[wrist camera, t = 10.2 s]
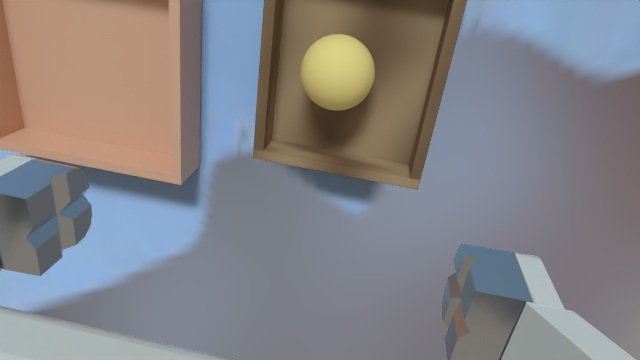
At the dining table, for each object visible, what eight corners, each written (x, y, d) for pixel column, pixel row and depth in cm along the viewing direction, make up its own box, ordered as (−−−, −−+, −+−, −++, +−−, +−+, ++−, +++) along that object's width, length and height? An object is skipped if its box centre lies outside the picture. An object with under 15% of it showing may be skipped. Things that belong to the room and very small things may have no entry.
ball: (318, 92, 28) (282, 107, 25) (327, 24, 26) (290, 30, 23) (378, 110, 26) (349, 127, 23) (392, 39, 24) (363, 47, 21)
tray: (264, 142, 30) (252, 158, 28) (281, -63, 24) (268, -66, 22) (416, 171, 29) (417, 189, 27) (468, -36, 24) (476, -36, 21)
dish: (23, 131, 33) (-11, 147, 30) (-14, -79, 27) (-61, -84, 24) (199, 166, 31) (181, 185, 29) (202, -46, 25) (179, -47, 23)
